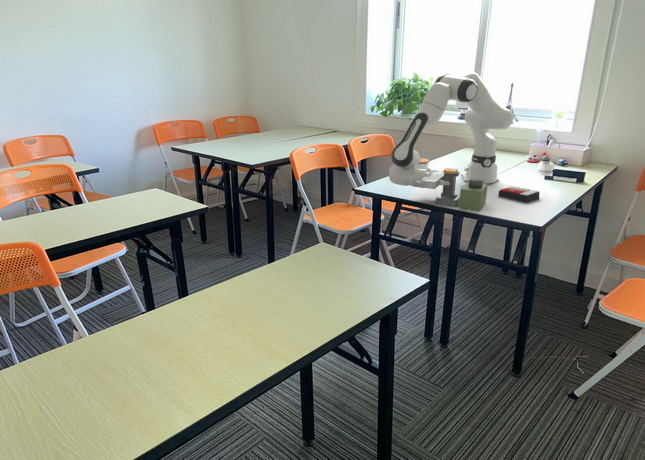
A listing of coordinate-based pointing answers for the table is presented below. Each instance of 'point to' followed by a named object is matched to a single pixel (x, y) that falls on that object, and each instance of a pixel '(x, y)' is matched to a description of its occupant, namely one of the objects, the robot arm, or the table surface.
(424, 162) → the lidded jar
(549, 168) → the inkwell
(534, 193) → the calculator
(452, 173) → the grey orange-topped box
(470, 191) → the green box
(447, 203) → the bracket
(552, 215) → the table surface
